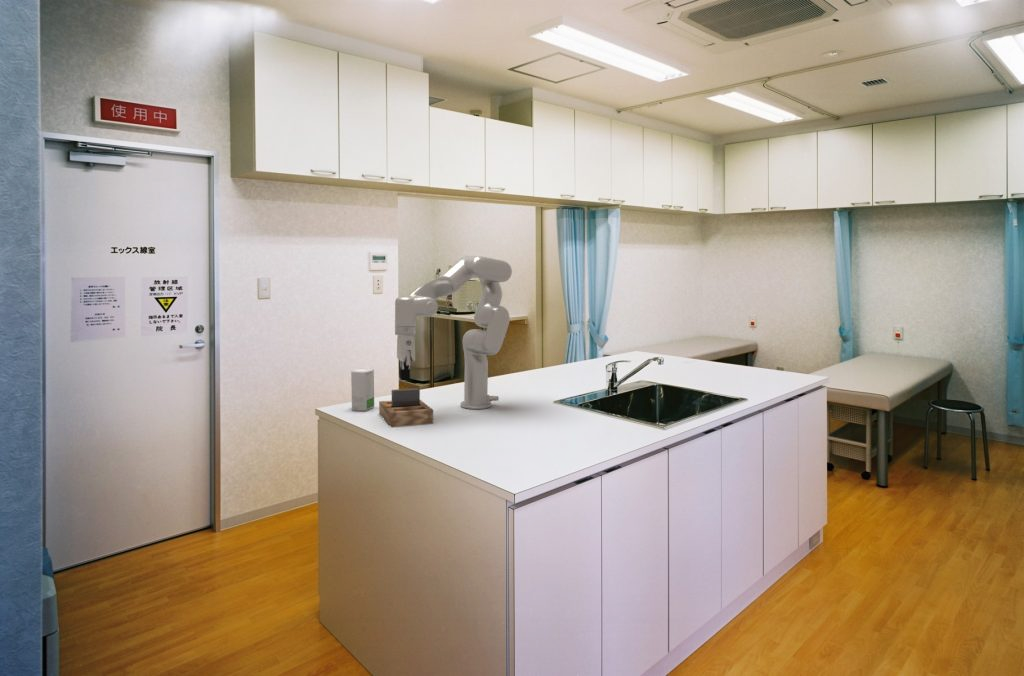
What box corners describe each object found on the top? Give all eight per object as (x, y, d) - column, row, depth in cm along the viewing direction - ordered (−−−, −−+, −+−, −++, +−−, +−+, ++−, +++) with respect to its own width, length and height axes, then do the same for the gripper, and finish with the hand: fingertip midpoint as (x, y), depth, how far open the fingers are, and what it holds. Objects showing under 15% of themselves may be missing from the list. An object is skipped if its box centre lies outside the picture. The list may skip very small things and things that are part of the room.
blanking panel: (418, 411, 231) (418, 388, 230) (419, 413, 229) (419, 389, 228) (391, 413, 227) (391, 389, 226) (393, 415, 225) (393, 391, 224)
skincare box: (366, 411, 238) (365, 372, 236) (350, 410, 239) (349, 371, 237) (375, 407, 246) (374, 368, 244) (359, 406, 247) (359, 368, 246)
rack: (418, 411, 240) (418, 397, 240) (433, 423, 222) (433, 408, 222) (379, 414, 234) (379, 399, 234) (390, 426, 216) (390, 411, 215)
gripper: (420, 332, 219) (420, 383, 221) (410, 328, 233) (410, 376, 235) (400, 332, 216) (399, 384, 218) (390, 328, 230) (390, 377, 232)
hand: (405, 379), depth 227 cm, fingers closed
